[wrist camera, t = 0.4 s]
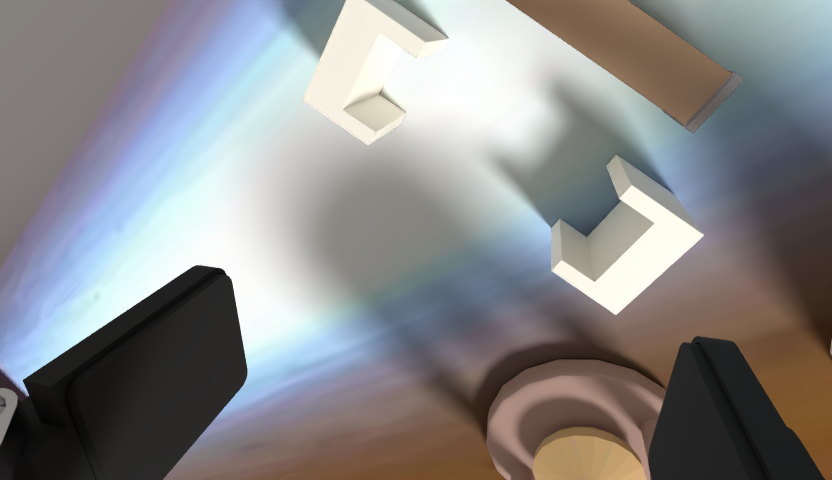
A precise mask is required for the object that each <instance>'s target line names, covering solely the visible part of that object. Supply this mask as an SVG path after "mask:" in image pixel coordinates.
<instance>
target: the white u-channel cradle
mask: <svg viewBox="0 0 832 480" xmlns="http://www.w3.org/2000/svg"><path fill="white" fill-rule="evenodd" d="M448 41H449V38H448V37H446V36H445V35H443V34H442V33H440V32H439V31H437V30H436V29H435V28H433V27H432V26H430V25H429V24H427V23H426V22H424V21H423V20H422V19H420V18H419V17H417V16H416V15H414V14H413V13H411V12H410V11H409V10H407V9H406V8H404V7H403V6H401V5H400V4H399V3H397V2H396V1H394V0H346V2H345V4H344V6H343V8H342V11H341V13H340V15H339V17H338V20H337V22H336V24H335V27H334V29H333V31H332V33H331V36H330V38H329V40H328V42H327V45H326V47H325V49H324V51H323V54H322V56H321V58H320V60H319V63H318V65H317V67H316V69H315V72H314V74H313V76H312V78H311V81H310V83H309V85H308V87H307V90H306V92H305V94H304V96H303V99H302V101H304V102H305V103H307V104H308V105H310V106H311V107H312V108H314V109H315V110H317V111H318V112H320V113H321V114H323V115H324V116H326V117H327V118H329V119H330V120H332V121H333V122H334V123H336V124H337V125H339V126H340V127H342V128H343V129H345V130H346V131H348V132H349V133H351V134H352V135H353V136H355V137H356V138H358V139H359V140H361V141H362V142H364V143H365V144H367V145H370V144H371V143H373V142H374V141H376V140H377V139H379V138H380V137H382V136H383V135H385V134H386V133H388V132H389V131H391V130H392V129H394V128H395V127H397V126H398V125H400V124H401V122H402V120H403V118H404V117H405V115H406V113H405V112H404V111H403V110H401V109H400V108H398V107H397V106H395V105H394V104H392V103H391V102H389V101H388V100H387V99H385V98H384V97H382V96H381V95H379V93H380V91H381V89H382V87H383V85H384V84H385V82H386V80H387V78H388V76H389V74H390V72H391V70H392V69H393V67H394V65H395V63H396V61H397V59H398V57H399V55H400V53H401V52H402V50H405V51H406V52H407V53H409V54H410V55H412V56H413V57H415V58H416V59H417V58H421V57H425V56H429V55H433V54H437V53H440V52H442V51H443V49H444V47H445V46H446V44H447V42H448ZM606 167H607V169H608V172H609V175H610V177H611V180H612V182H613V185H614V187H615V190H616V192H617V195H618V197H619V199H620V200H621V201H620V202H619V203H618V204H617V206H616V207H615V208H614V209H613V210H612V211H611V212H610V213H609V214H608V215H607V216H606V217H605V218H604V219H603V220H602V221H601V223H600V224H599V225H598V226H597V227H596V228H595V229H594V230H593V231H592V232H591V233H590V234H589V235H588V236H587V237H586V236H585V235H583V234H582V233H580V232H579V231H577V230H576V229H574V228H573V227H571V226H570V225H569V224H567V223H566V222H564V221H563V220H561V219H559V220H558V221H557V222H556V223H555V224H554V226H553V227H552V228H551V265H552V272H554V273H555V274H557V275H558V276H560V277H561V278H563V279H564V280H566V281H567V282H569V283H570V284H572V285H573V286H574V287H576V288H577V289H579V290H580V291H582V292H583V293H585V294H586V295H588V296H589V297H591V298H592V299H593V300H595V301H596V302H598V303H599V304H601V305H602V306H604V307H605V308H607V309H608V310H610V311H611V312H612V313H614V314H615V315H617V314H618V313H619V312H620V311H621V310H622V309H623V308H624V307H625V306H626V305H628V304H629V303H630V302H631V301H632V300H633V299H634V298H635V297H636V296H638V295H639V294H640V293H641V292H642V291H643V290H644V289H645V288H646V287H648V286H649V285H650V284H651V283H652V282H653V281H654V280H655V279H656V278H657V277H659V276H660V275H661V274H662V273H663V272H664V271H665V270H666V269H667V268H669V267H670V266H671V265H672V264H673V263H674V262H675V261H676V260H677V259H679V258H680V257H681V256H682V255H683V254H684V253H685V252H686V251H687V250H689V249H690V248H691V247H692V246H693V245H694V244H695V243H696V242H697V241H698V240H700V239H701V238H702V237H703V236H704V234H703V233H702V231H701V230H700V229H699V227H698V226H697V225H696V223H695V222H694V220H693V219H692V218H691V216H690V215H689V214H688V212H687V211H686V210H685V208H684V207H683V205H682V204H681V203H680V201H679V200H678V199H677V197H676V196H675V195H674V194H673V193H671V192H670V191H668V190H667V189H665V188H664V187H663V186H661V185H660V184H658V183H657V182H655V181H654V180H652V179H651V178H650V177H648V176H647V175H645V174H644V173H642V172H641V171H639V170H638V169H637V168H635V167H634V166H632V165H631V164H629V163H628V162H626V161H625V160H624V159H622V158H621V157H619V156H618V155H615V156H614V157H613V158H612V160H611V161H610V162H609V163H608V164H607V165H606Z"/></svg>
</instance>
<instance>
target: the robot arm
mask: <svg viewBox="0 0 832 480" xmlns="http://www.w3.org/2000/svg"><path fill="white" fill-rule="evenodd" d="M246 377H247V364H246V359H245V353H244V347H243V342H242V336H241V330H240V325H239V319H238V313H237V307H236V302H235V296H234V290H233V285H232V281H231V279H230V277H229V276H227V275H226V273H225V271H224V270H223V269H221V268H215V267H208V266H201V265H196V266H194V267H192V268H190V269H189V270H187V271H186V272H184V273H183V274H181V275H180V276H178V277H177V278H175V279H174V280H172V281H171V282H169V283H168V284H166V285H165V286H163V287H162V288H160V289H159V290H157V291H156V292H154V293H153V294H151V295H150V296H148V297H147V298H145V299H144V300H142V301H141V302H139V303H138V304H136V305H135V306H133V307H132V308H130V309H129V310H127V311H126V312H124V313H123V314H121V315H120V316H118V317H117V318H115V319H114V320H112V321H111V322H109V323H108V324H106V325H105V326H103V327H102V328H100V329H99V330H97V331H96V332H94V333H93V334H91V335H90V336H88V337H87V338H85V339H84V340H82V341H81V342H79V343H78V344H76V345H75V346H73V347H72V348H70V349H69V350H67V351H66V352H64V353H63V354H61V355H60V356H58V357H57V358H55V359H54V360H52V361H51V362H49V363H48V364H46V365H45V366H43V367H42V368H40V369H39V370H37V371H36V372H34V373H33V374H31V375H30V376H28V377H27V378H25V379H24V380H23V382H24V384H25V387H26V389H27V391H28V394H29V396H28V397H27V398H25V399H24V400H23V401H21V402H20V401H19V399H18V397H17V395H16V394H15V393H14V392H13V391H11V390H8V389H5V388H0V480H163V479H164V478H165V476H166V475H167V474H168V473H169V472H170V471H171V469H172V468H173V467H174V466H175V465H176V463H177V462H178V461H179V460H180V459H181V458H182V456H183V455H184V454H185V453H186V452H187V451H188V449H189V448H190V447H191V446H192V445H193V444H194V442H195V441H196V440H197V439H198V438H199V437H200V435H201V434H202V433H203V432H204V431H205V430H206V428H207V427H208V426H209V425H210V424H211V422H212V421H213V420H214V419H215V418H216V417H217V415H218V414H219V413H220V412H221V411H222V410H223V408H224V407H225V406H226V405H227V404H228V403H229V401H230V400H231V399H232V398H233V397H234V396H235V394H236V393H237V392H238V391H239V390H240V388H241V387H242V386H243V385H244V383H245V381H246ZM648 465H649V471H650V475H651V479H652V480H825V479H824V478H823V476H822V474H821V473H820V471H819V470H818V468H817V466H816V465H815V463H814V462H813V460H812V458H811V457H810V455H809V454H808V452H807V450H806V449H805V447H804V446H803V444H802V442H801V441H800V439H799V438H798V436H797V435H796V434H795V433H794V432H793V430H791V429H790V428H788V427H786V425H785V423H784V422H783V420H782V418H781V417H780V415H779V414H778V412H777V410H776V409H775V407H774V405H773V404H772V402H771V400H770V399H769V397H768V396H767V394H766V392H765V391H764V389H763V387H762V386H761V384H760V383H759V381H758V379H757V378H756V376H755V374H754V373H753V371H752V369H751V368H750V366H749V365H748V363H747V361H746V360H745V358H744V356H743V355H742V353H741V352H740V350H739V348H738V347H737V345H736V344H735V343H734V342H732V341H728V340H721V339H714V338H707V337H700V336H697V337H695V338H694V339H693V340H692V342H691V343H686V342H684V343H682V344H681V346H680V348H679V351H678V355H677V358H676V361H675V365H674V368H673V371H672V374H671V378H670V381H669V384H668V388H667V391H666V394H665V398H664V401H663V404H662V407H661V411H660V414H659V417H658V421H657V424H656V427H655V431H654V434H653V437H652V441H651V444H650V447H649V453H648Z"/></svg>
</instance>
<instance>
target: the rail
mask: <svg viewBox="0 0 832 480" xmlns="http://www.w3.org/2000/svg"><path fill="white" fill-rule="evenodd" d="M506 1H507V2H509V3H510V4H512V5H513V6H515V7H516V8H518V9H519V10H520V11H522V12H523V13H525V14H526V15H528V16H529V17H530V18H532V19H533V20H535V21H536V22H538V23H539V24H540V25H542V26H543V27H545V28H546V29H548V30H549V31H550V32H552V33H553V34H555V35H556V36H558V37H559V38H561V39H562V40H563V41H565V42H566V43H568V44H569V45H571V46H572V47H573V48H575V49H576V50H578V51H579V52H581V53H582V54H583V55H585V56H586V57H588V58H589V59H591V60H592V61H593V62H595V63H596V64H598V65H599V66H601V67H602V68H604V69H605V70H606V71H608V72H609V73H611V74H612V75H614V76H615V77H616V78H618V79H619V80H621V81H622V82H624V83H625V84H626V85H628V86H629V87H631V88H632V89H634V90H635V91H636V92H638V93H639V94H641V95H642V96H644V97H645V98H647V99H648V100H649V101H651V102H652V103H654V104H655V105H657V106H658V107H659V108H661V109H662V110H664V112H665V113H666V114H667V115H669V116H670V117H671V118H673V119H674V120H675V121H677V122H678V123H679V124H680V125H682V126H683V127H685V128H686V129H687V130H689V131H690V132H692V133H694V132H695V131H696V130H697V129H698V128H699V127H700V126H701V124H702V123H703V122H704V121H705V120H706V119H707V118H708V117H709V116H710V115H711V114H712V113H713V112H714V111H715V110H716V109H717V108H718V107H719V106H720V104H721V103H722V102H723V101H724V100H725V99H726V98H727V97H728V96H729V95H730V94H731V93H732V92H733V91H734V90H735V89H736V88H737V87H738V86H739V85H740V83H741V82H742V81H743V80H744V79H743V78H741V77H740V76H738V75H737V74H735V73H734V72H731V71H727V70H726V69H724V68H723V67H721V66H720V65H719V64H717V63H716V62H714V61H713V60H712V59H710V58H709V57H707V56H706V55H704V54H703V53H702V52H700V51H699V50H697V49H696V48H694V47H693V46H692V45H690V44H689V43H687V42H686V41H684V40H683V39H682V38H680V37H679V36H677V35H676V34H675V33H673V32H672V31H670V30H669V29H667V28H666V27H665V26H663V25H662V24H660V23H659V22H657V21H656V20H655V19H653V18H652V17H650V16H649V15H647V14H646V13H645V12H643V11H642V10H640V9H639V8H638V7H636V6H635V5H633V4H632V3H630V2H629V1H628V0H506Z"/></svg>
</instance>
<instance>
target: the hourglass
mask: <svg viewBox="0 0 832 480" xmlns="http://www.w3.org/2000/svg"><path fill="white" fill-rule="evenodd" d="M665 394H666V389H664V388H663V387H661V386H659V385H658V384H656V383H655V382H653V381H651V380H650V379H648V378H646V377H645V376H643V375H642V374H640V373H638V372H637V371H635V370H633V369H629V368H625V367H622V366H618V365H615V364H611V363H607V362H604V361H600V360H585V359H559V360H555V361H552V362H548V363H545V364H541V365H538V366H534V367H531V368H527V369H525V370H524V371H523V372H521V373H520V374H518V375H517V376H516V377H514V378H513V379H511V380H510V381H509V382H507V383H506V384H504V385H503V386H502V388H501V389H500V391H499V393H498V395H497V396H496V398H495V400H494V401H493V403H492V405H491V407H490V409H489V414H488V423H487V442H486V444H487V447H488V450H489V452H490V455H491V457H492V460H493V462H494V464H495V467H496V469H497V470H498V471H499V472H500V473H501V474H502V476H503V477H504V478H505V479H506V480H652V479H651V475H650V471H649V465H648V453H649V447H650V444H651V441H652V437H653V434H654V431H655V427H656V424H657V421H658V417H659V414H660V411H661V407H662V404H663V401H664V398H665Z"/></svg>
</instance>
